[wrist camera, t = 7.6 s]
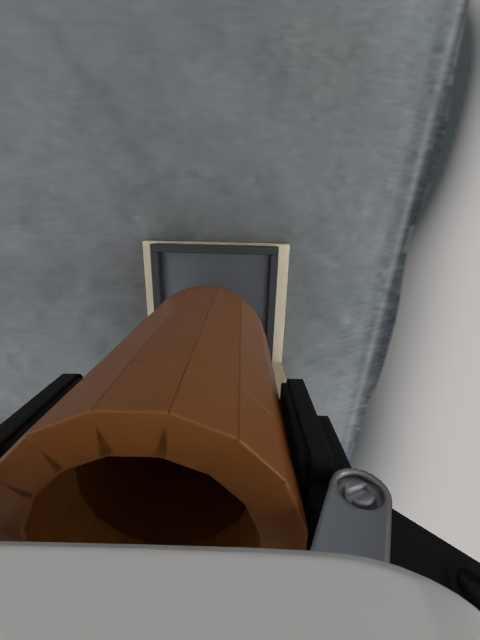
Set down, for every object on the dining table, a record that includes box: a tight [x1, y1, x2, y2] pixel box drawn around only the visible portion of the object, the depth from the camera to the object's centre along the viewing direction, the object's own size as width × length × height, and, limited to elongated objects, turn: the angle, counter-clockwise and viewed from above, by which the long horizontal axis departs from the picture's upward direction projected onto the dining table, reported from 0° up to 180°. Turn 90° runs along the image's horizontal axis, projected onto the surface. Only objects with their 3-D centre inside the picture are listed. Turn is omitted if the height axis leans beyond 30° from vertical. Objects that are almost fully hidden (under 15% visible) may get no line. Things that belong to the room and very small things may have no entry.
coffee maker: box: [142, 240, 290, 398], centre depth 16 cm, size 16×12×24 cm
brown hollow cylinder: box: [0, 286, 308, 550], centre depth 12 cm, size 7×7×12 cm
